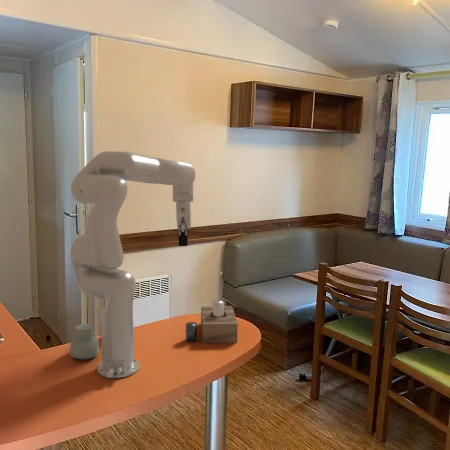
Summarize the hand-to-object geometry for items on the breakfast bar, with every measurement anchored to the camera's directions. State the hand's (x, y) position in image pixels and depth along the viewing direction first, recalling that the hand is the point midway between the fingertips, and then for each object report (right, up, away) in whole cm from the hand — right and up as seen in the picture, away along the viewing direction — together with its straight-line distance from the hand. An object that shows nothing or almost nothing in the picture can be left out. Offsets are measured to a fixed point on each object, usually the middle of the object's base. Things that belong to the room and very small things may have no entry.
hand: (183, 243), depth 175 cm
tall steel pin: (+13, -33, -1) cm, 36 cm away
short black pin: (+4, -34, -8) cm, 35 cm away
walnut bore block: (+13, -33, -1) cm, 36 cm away
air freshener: (-30, -36, -21) cm, 52 cm away
